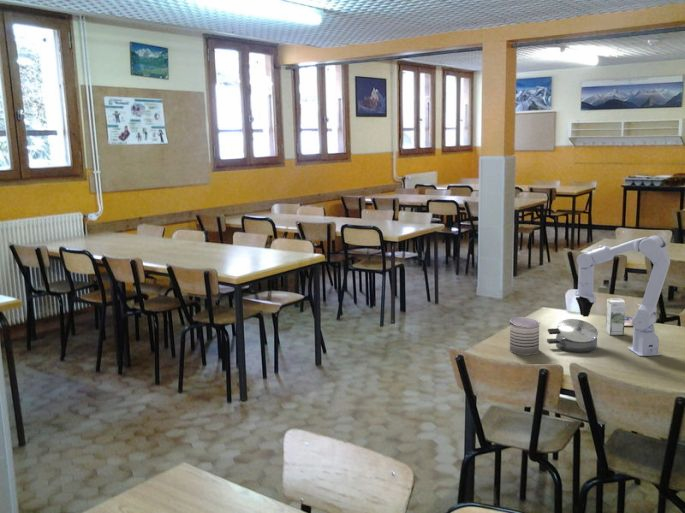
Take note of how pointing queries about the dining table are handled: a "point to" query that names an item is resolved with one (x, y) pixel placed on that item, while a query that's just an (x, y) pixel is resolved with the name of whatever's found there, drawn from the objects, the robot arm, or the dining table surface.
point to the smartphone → (628, 322)
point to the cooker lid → (576, 330)
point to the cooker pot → (573, 345)
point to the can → (524, 335)
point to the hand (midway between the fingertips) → (584, 315)
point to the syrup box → (615, 316)
